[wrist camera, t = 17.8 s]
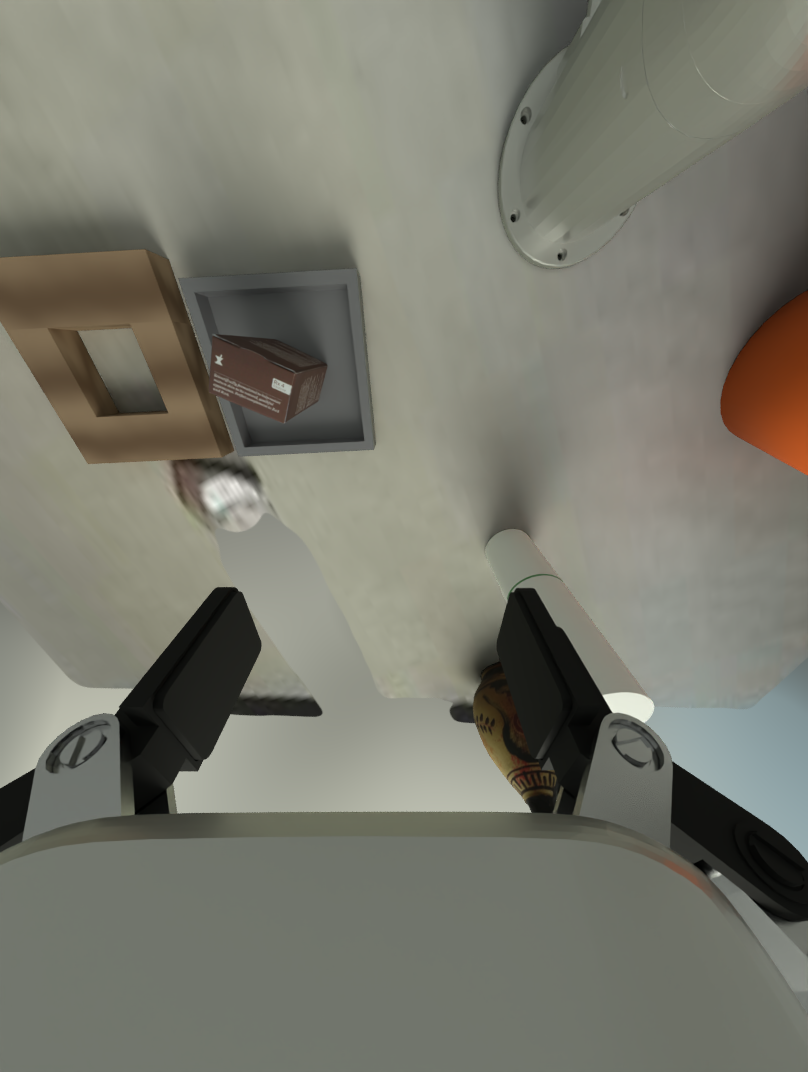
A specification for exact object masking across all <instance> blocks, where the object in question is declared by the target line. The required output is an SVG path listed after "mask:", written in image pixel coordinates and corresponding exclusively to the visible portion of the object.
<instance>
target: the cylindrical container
mask: <svg viewBox="0 0 808 1072" xmlns="http://www.w3.org/2000/svg"><path fill="white" fill-rule="evenodd" d="M485 555H486V558H487V560H488V563H489V565H490V567H491V569H492V572H493V574H494V576H495V578H496V580H497V583H498V585H499V587H500V589H501V592H502V594H503V596H504V598H505V601H506V603H507V602H508V598H509V594H510V593H511V592H514V591H515V589H516V588H534V589H535V590H536V591H537V593H538V595H539V597H540V598H541V600H542V602H543V603H544V605H545V607H546V609H547V610H548V612H549V614H550V616H551V617H552V619H553V621H554V623H555V624H556V626H557V627H560V628H562V629H563V630H564V632H565V633H566V635H567V636H568V638H569V640H570V641H571V643H572V645H573V647H574V648H575V650H576V652H577V653H578V655H579V657H580V658H581V660H582V662H583V663H584V665H585V667H586V669H587V670H588V672H589V674H590V675H591V677H592V679H593V680H594V682H595V684H596V685H597V687H598V689H599V691H600V692H601V694H602V696H603V697H604V699H605V701H606V702H607V704H608V706H609V707H610V709H611V711H612V713H623V714H628V715H630V716H632V717H634V718H637V719H639V720H640V721H642V722H643V723H644V722H646V721H647V720H648V719H649V718H650V716H651V715H652V713H653V711H654V704H653V702H652V701H651V699H650V698H649V697H648V695H647V694H646V693H645V691H644V690H643V689H642V687H641V686H640V685H639V683H638V682H637V680H636V679H635V678H634V676H633V675H632V674H631V672H630V671H629V670H628V668H627V667H626V666H625V664H624V663H623V662H622V660H621V659H620V658H619V656H618V655H617V654H616V652H615V651H614V650H613V648H612V647H611V646H610V644H609V643H608V642H607V640H606V639H605V638H604V636H603V635H602V633H601V632H600V631H599V629H598V628H597V627H596V625H595V624H594V623H593V621H592V620H591V619H590V617H589V616H588V615H587V613H586V612H585V611H584V609H583V608H582V607H581V605H580V604H579V603H578V601H577V600H576V599H575V597H574V596H573V595H572V593H571V592H570V590H569V589H568V588H567V586H566V585H565V584H564V583H563V581H562V580H561V578H560V577H559V576H558V574H557V573H556V572H555V570H554V569H553V568H552V566H551V565H550V564H549V562H548V561H547V560H546V558H545V557H544V556H543V554H542V553H541V552H540V550H539V549H538V548H537V546H536V545H535V544H534V542H533V541H532V540H531V538H530V537H529V536H528V534H526V533H525V532H523V531H521V530H518V529H507V530H504V531H501V532H499V533H497V534H496V535H494V536H493V537H492V538H491V539H490V540H489V542H488V543H487V545H486V548H485Z"/></svg>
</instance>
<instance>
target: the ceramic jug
mask: <svg viewBox="0 0 808 1072" xmlns="http://www.w3.org/2000/svg"><path fill="white" fill-rule="evenodd" d="M481 674H482V676H481V680H482V682H481V684H480V685H479V687H478V689H477V691H476V693H475V696H474V703H473V713H474V720H475V724H476V727H477V729H478V732H479V735H480V737H481V739H482V741H483V744H484V746H485V748H486V750H487V752H488V754H489V755H490V757H491V758H492V760H493V761H494V763H495V764H496V765H497V767H498V768H499V769H500V771H501V772H502V773H503V775H504V776H505V777H506V779H507V780H508V781H509V783H510V784H511V785H512V786H513V787H514V788H515V789H516V790H517V792H518V793H519V794H520V795H521V796H522V798H523V799H524V801H525V803H526V804H528V805H529V807H530V810H531V812H532V813H553V810H554V807H555V803H556V800H557V797H558V793H559V790H560V787H561V785H560V784H559V783H558V780H557V777H556V775H555V772H554V770H541V768H540V765H539V762H538V759H534V758H533V757H532V756H531V754H530V751H529V748H528V745H527V742H526V739H525V736H524V733H523V730H522V727H521V724H520V720H519V717H518V714H517V711H516V708H515V705H514V702H513V699H512V696H511V692H510V689H509V686H508V683H507V680H506V677H505V674H504V671H503V668H502V665H501V662H498V663H496V664H494V665H492V666H488V667H487V668H486V669H484V670H483V671H482V672H481Z"/></svg>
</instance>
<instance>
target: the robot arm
mask: <svg viewBox="0 0 808 1072" xmlns="http://www.w3.org/2000/svg"><path fill="white" fill-rule="evenodd" d="M807 86H808V0H588V8H587V15H586V18H584V20H583V22H582V24H581V25H580V27H579V29H578V31H577V33H576V35H575V37H574V38H573V40H572V42H571V44H570V45H569V46H567V47H566V48H564V49H562V50H561V51H560V52H559V53H558V54H557V55H556V56H554V57H553V58H552V59H551V60H550V61H549V62H548V63H547V64H546V65H545V66H544V68H543V69H542V70H541V71H540V73H539V74H538V75H537V77H536V78H535V79H534V80H533V82H532V83H531V85H530V87H529V88H528V90H527V92H526V94H525V96H524V97H523V99H522V101H521V103H520V105H519V107H518V109H517V111H516V113H515V116H514V118H513V120H512V122H511V125H510V128H509V131H508V134H507V137H506V140H505V143H504V147H503V152H502V157H501V162H500V169H499V181H498V194H499V207H500V213H501V218H502V223H503V225H504V228H505V231H506V233H507V236H508V238H509V240H510V241H511V243H512V245H513V246H514V248H515V250H516V251H517V252H518V253H519V254H520V255H521V256H522V257H523V258H524V259H525V260H527V261H529V262H530V263H532V264H534V265H536V266H539V267H543V268H546V269H560V268H564V267H568V266H572V265H574V264H576V263H578V262H581V261H583V260H585V259H586V258H588V257H590V256H591V255H593V254H595V253H596V252H597V251H599V250H600V249H601V248H602V247H603V246H604V245H606V244H607V243H608V242H609V241H610V240H611V239H612V238H613V237H614V236H615V234H616V233H617V232H618V231H619V230H620V229H621V228H622V226H623V225H624V223H625V222H626V221H627V219H628V218H629V216H630V215H631V213H632V212H633V210H634V208H635V206H636V204H637V202H639V201H640V200H642V199H643V198H645V197H646V196H648V195H649V194H651V193H652V192H654V191H655V190H657V189H658V188H660V187H661V186H663V185H664V184H666V183H667V182H669V181H670V180H672V179H673V178H675V177H676V176H678V175H679V174H681V173H682V172H684V171H685V170H687V169H688V168H690V167H691V166H693V165H694V164H696V163H697V162H699V161H700V160H702V159H703V158H704V157H706V156H707V155H709V154H710V153H712V152H713V151H715V150H716V149H718V148H719V147H721V146H722V145H724V144H725V143H727V142H728V141H730V140H731V139H733V138H734V137H736V136H737V135H739V134H740V133H742V132H743V131H745V130H746V129H748V128H749V127H751V126H752V125H754V124H755V123H757V122H758V121H760V120H761V119H762V118H764V117H765V116H767V115H768V114H770V113H771V112H772V111H774V110H775V109H777V108H778V107H780V106H781V105H783V104H784V103H786V102H787V101H789V100H790V99H792V98H793V97H794V96H796V95H797V94H798V93H800V92H801V91H802V90H803V89H805V88H806V87H807ZM521 119H522V120H524V122H525V125H524V124H522V122H521V121H520V120H521ZM511 216H513V217H514V219H515V221H514V222H512V221H511V219H510V217H511ZM558 254H559V255H560V260H558V256H557V255H558ZM260 651H261V640H260V638H259V635H258V632H257V630H256V627H255V624H254V622H253V619H252V617H251V614H250V611H249V609H248V606H247V603H246V601H245V598H244V596H243V594H242V592H239V591H238V589H237V588H235V587H217V588H215V589H214V590H213V591H212V592H211V594H210V595H209V596H208V597H207V599H206V600H205V601H204V602H203V604H202V605H201V606H200V607H199V609H198V610H197V611H196V612H195V613H194V615H193V616H192V617H191V618H190V620H189V621H188V622H187V623H186V625H185V626H184V627H183V628H182V630H181V631H180V632H179V633H178V634H177V636H176V637H175V638H174V639H173V641H172V642H171V643H170V644H169V646H168V647H167V648H166V649H165V651H164V652H163V653H162V654H161V655H160V657H159V658H158V659H157V660H156V662H155V663H154V664H153V665H152V667H151V668H150V669H149V670H148V672H147V673H146V674H145V675H144V676H143V678H142V679H141V680H140V681H139V683H138V684H137V685H136V686H135V688H134V689H133V690H132V691H131V693H130V694H129V695H128V697H127V698H126V699H125V700H124V701H123V702H122V704H121V705H120V706H119V708H120V709H119V710H118V711H117V713H116V714H115V715H113V714H106V713H103V714H99V715H93V716H91V717H89V718H86V719H84V720H81V721H80V722H78V723H76V724H75V725H73V726H71V727H70V728H68V729H67V730H66V731H65V732H63V733H62V734H60V735H59V736H58V737H57V738H56V739H55V740H54V741H53V742H52V743H51V744H50V745H49V746H48V747H47V748H46V750H45V751H44V753H43V754H42V755H41V757H40V758H39V761H38V763H37V766H36V768H35V769H33V770H31V771H30V772H28V773H26V774H25V775H23V776H21V777H19V778H18V779H16V780H14V781H12V782H11V783H9V784H7V785H6V786H4V787H2V788H0V1072H808V862H807V861H806V860H805V858H804V857H803V856H802V855H801V854H800V852H799V851H798V850H797V849H796V848H795V847H794V846H793V845H792V844H791V843H790V842H789V841H788V840H787V839H786V838H785V837H783V836H782V835H781V834H779V833H778V832H777V831H776V830H774V829H773V828H771V827H770V826H769V825H767V824H766V823H764V822H763V821H761V820H760V819H758V818H757V817H755V816H754V815H752V814H751V813H749V812H748V811H746V810H745V809H743V808H742V807H740V806H739V805H737V804H736V803H734V802H733V801H731V800H730V799H728V798H727V797H725V796H724V795H722V794H721V793H719V792H718V791H716V790H715V789H713V788H712V787H710V786H709V785H707V784H706V783H704V782H703V781H701V780H700V779H698V778H697V777H695V776H694V775H692V774H691V773H689V772H687V771H686V770H685V769H683V768H681V767H680V766H678V765H677V764H675V763H674V762H672V758H671V755H670V753H669V751H668V749H667V747H666V745H665V744H664V742H663V741H662V740H661V738H660V737H659V736H658V735H657V734H656V733H655V732H654V731H653V730H652V729H651V728H650V727H649V726H647V725H646V724H644V723H643V722H642V721H640V720H639V719H637V718H634V717H632V716H630V715H628V714H623V713H612V711H611V709H610V707H609V706H608V704H607V702H606V701H605V699H604V697H603V696H602V694H601V692H600V691H599V689H598V687H597V685H596V684H595V682H594V680H593V679H592V677H591V675H590V674H589V672H588V670H587V669H586V667H585V665H584V663H583V662H582V660H581V658H580V657H579V655H578V653H577V652H576V650H575V648H574V647H573V645H572V643H571V641H570V640H569V638H568V636H567V635H566V633H565V632H564V630H563V629H562V628H560V627H557V626H556V624H555V623H554V621H553V619H552V617H551V616H550V614H549V612H548V610H547V609H546V607H545V605H544V603H543V602H542V600H541V598H540V597H539V595H538V593H537V591H536V590H535V589H534V588H516V589H515V591H514V592H511V593H510V594H509V598H508V602H507V605H506V609H505V613H504V617H503V621H502V624H501V628H500V632H499V636H498V639H497V652H498V655H499V658H500V661H501V665H502V668H503V671H504V674H505V677H506V680H507V683H508V686H509V689H510V692H511V696H512V699H513V702H514V705H515V708H516V711H517V714H518V717H519V720H520V724H521V727H522V730H523V733H524V736H525V739H526V742H527V745H528V748H529V751H530V754H531V756H532V757H533V758H534V759H538V762H539V765H540V768H541V770H554V772H555V775H556V777H557V780H558V783H559V784H560V785H561V787H560V790H559V793H558V797H557V800H556V803H555V807H554V810H553V813H514V812H268V813H267V812H266V813H265V812H264V813H182V814H177V807H176V801H175V794H174V786H173V782H174V780H175V778H176V776H177V774H178V772H179V771H198V770H199V768H200V766H201V764H202V762H203V760H204V759H207V758H208V757H209V756H210V754H211V752H212V751H213V749H214V746H215V745H216V742H217V740H218V738H219V736H220V734H221V732H222V730H223V728H224V726H225V724H226V722H227V719H228V718H229V716H230V713H231V711H232V709H233V707H234V705H235V703H236V701H237V699H238V697H239V695H240V693H241V691H242V689H243V687H244V684H245V682H246V680H247V678H248V676H249V674H250V672H251V670H252V668H253V666H254V664H255V662H256V660H257V657H258V655H259V653H260Z"/></svg>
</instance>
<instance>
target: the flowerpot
mask: <svg viewBox="0 0 808 1072" xmlns="http://www.w3.org/2000/svg"><path fill="white" fill-rule="evenodd" d="M721 415H722V419H723V422H724V424H725V426H726V427H727V428H728V430H729V431H730V432H731V433H733V434H734V435H736V436H737V437H739V438H741V439H742V440H744V441H746V442H748V443H750V444H752V445H753V446H755V447H757V448H759V449H761V450H762V451H764V452H766V453H768V454H770V455H772V456H773V457H775V458H777V459H779V460H781V461H782V462H784V463H786V464H788V465H790V466H791V467H793V468H795V469H797V470H799V471H801V472H802V473H804V474H806V475H808V290H807V291H805V292H803V293H802V294H800V295H798V296H797V297H795V298H794V299H793V300H791V301H790V302H788V303H787V304H786V305H784V306H783V307H781V308H780V309H779V310H778V311H777V312H776V313H775V314H773V315H772V316H771V317H770V318H769V319H768V320H767V321H766V322H765V323H764V324H763V325H762V326H761V327H760V328H759V329H758V330H757V331H756V332H755V334H754V335H753V336H752V337H751V338H750V339H749V341H748V342H747V343H746V345H745V346H744V348H743V349H742V350H741V352H740V353H739V355H738V356H737V358H736V360H735V362H734V364H733V365H732V367H731V369H730V371H729V373H728V376H727V378H726V381H725V384H724V386H723V391H722V396H721Z"/></svg>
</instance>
